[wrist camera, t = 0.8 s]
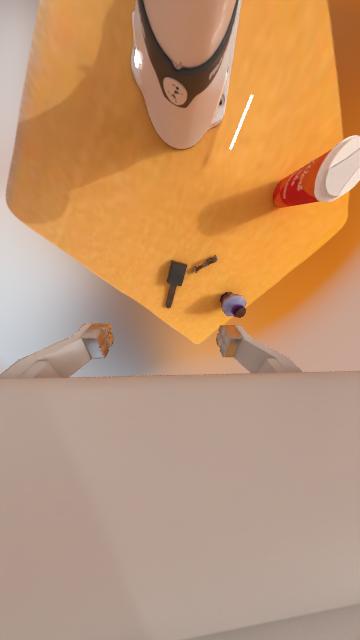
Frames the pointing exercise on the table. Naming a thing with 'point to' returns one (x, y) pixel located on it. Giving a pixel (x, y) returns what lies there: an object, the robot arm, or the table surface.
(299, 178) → the coffee cup
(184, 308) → the table surface
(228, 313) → the potion bottle
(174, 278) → the mallet
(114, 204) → the table surface
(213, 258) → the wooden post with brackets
